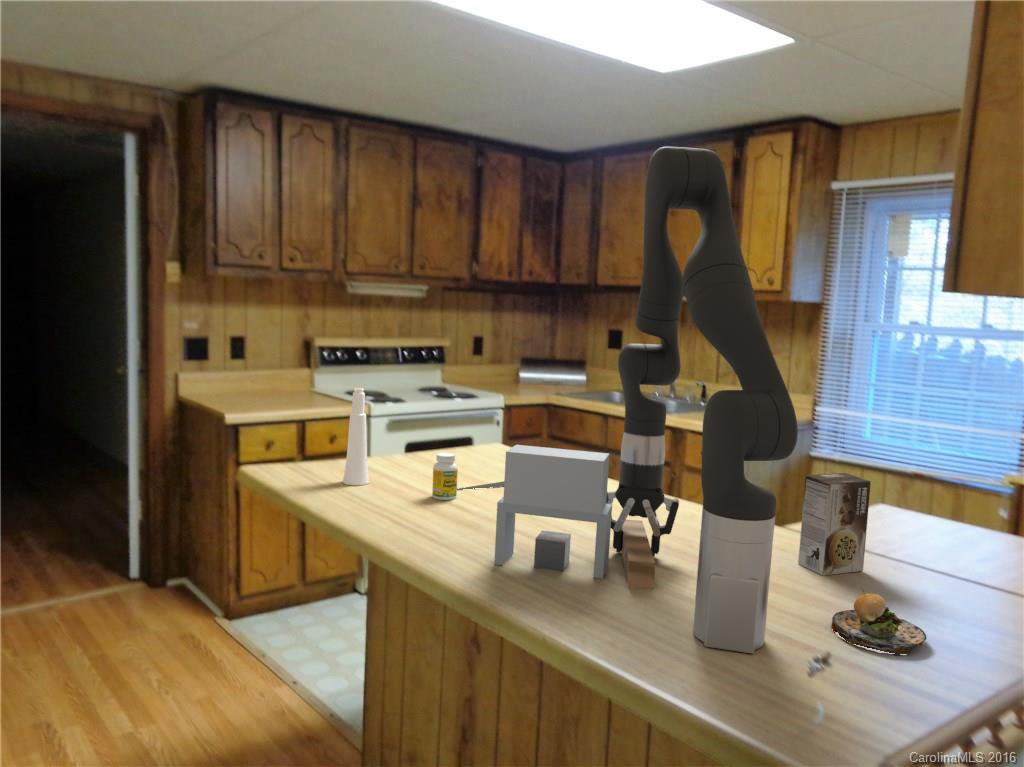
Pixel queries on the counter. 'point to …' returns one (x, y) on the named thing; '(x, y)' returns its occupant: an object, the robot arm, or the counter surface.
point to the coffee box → (834, 523)
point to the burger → (876, 626)
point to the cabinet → (555, 494)
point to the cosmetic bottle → (357, 443)
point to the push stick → (637, 555)
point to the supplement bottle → (445, 477)
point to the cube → (552, 550)
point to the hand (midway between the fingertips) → (635, 552)
